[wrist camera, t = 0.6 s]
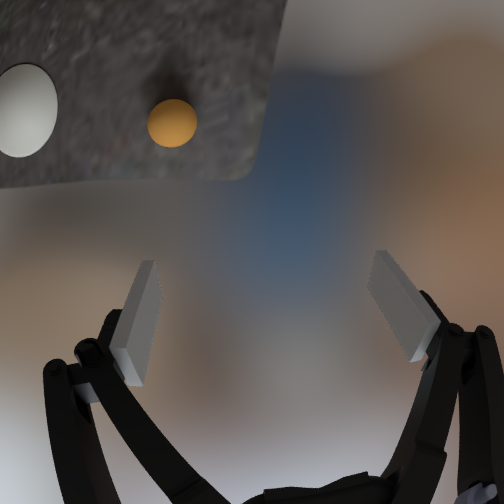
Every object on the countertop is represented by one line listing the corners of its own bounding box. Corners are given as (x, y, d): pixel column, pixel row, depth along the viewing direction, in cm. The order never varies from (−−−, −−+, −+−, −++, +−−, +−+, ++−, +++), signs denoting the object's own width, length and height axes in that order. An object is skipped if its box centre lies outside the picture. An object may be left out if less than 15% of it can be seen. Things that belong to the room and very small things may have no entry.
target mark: (-11, 69, 20) (-12, 69, 20) (63, 60, 24) (62, 60, 24) (-13, 156, 27) (-14, 156, 27) (55, 158, 31) (55, 158, 31)
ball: (155, 93, 29) (147, 99, 25) (201, 100, 31) (201, 106, 27) (148, 137, 32) (140, 150, 28) (192, 142, 34) (191, 156, 30)
